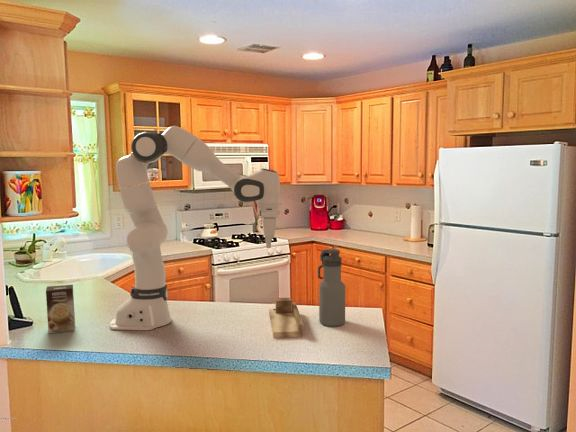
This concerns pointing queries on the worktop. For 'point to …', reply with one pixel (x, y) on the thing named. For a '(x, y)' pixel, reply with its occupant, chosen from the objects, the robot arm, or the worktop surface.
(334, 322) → the water bottle
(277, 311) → the brown block
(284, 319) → the board
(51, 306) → the coffee box
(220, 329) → the worktop surface
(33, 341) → the worktop surface
